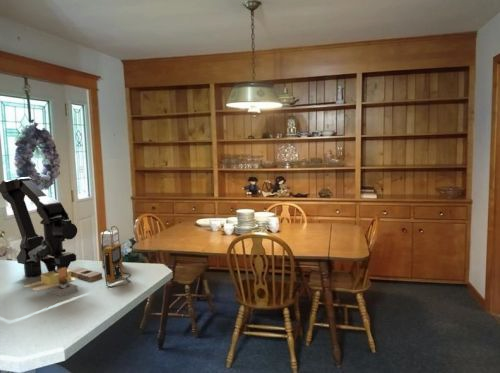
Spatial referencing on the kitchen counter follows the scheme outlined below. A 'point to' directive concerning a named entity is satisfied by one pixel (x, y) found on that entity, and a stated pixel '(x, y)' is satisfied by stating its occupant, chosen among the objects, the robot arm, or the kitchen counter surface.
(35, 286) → the subfloor panel
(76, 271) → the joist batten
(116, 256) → the multimeter
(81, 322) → the kitchen counter surface
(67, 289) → the awl holder
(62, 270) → the awl
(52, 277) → the block
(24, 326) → the kitchen counter surface
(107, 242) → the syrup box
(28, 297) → the kitchen counter surface
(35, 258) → the robot arm
